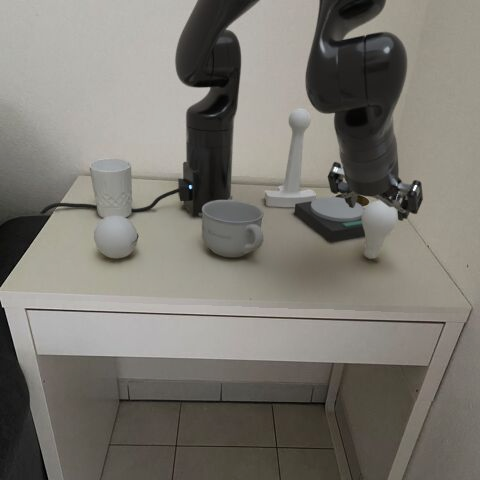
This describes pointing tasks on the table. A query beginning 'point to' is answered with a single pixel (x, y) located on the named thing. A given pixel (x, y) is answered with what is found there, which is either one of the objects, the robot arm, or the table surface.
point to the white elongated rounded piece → (115, 236)
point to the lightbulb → (377, 226)
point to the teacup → (232, 227)
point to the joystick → (293, 166)
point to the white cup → (112, 186)
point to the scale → (332, 218)
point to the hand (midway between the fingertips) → (377, 209)
